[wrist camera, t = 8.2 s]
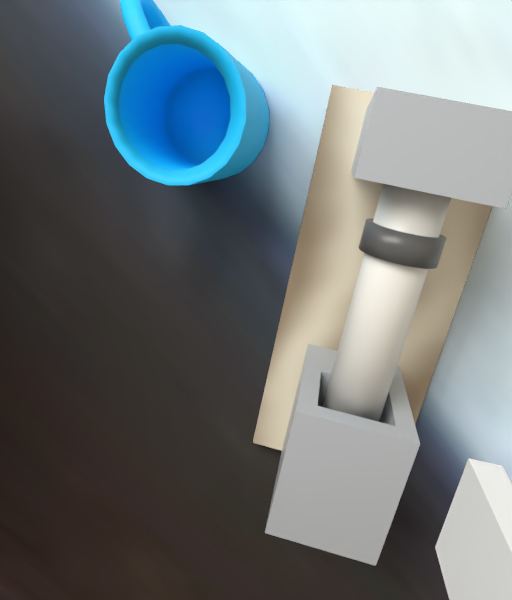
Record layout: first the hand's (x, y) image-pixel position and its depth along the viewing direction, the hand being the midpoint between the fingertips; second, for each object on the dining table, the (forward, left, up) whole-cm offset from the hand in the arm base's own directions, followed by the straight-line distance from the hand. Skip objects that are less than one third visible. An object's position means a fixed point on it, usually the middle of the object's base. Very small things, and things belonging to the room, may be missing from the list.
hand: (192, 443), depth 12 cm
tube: (+6, +1, -19) cm, 20 cm away
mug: (-9, +10, -25) cm, 28 cm away
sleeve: (+6, -10, -24) cm, 26 cm away
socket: (+6, +9, -24) cm, 26 cm away
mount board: (+6, -2, -25) cm, 25 cm away
